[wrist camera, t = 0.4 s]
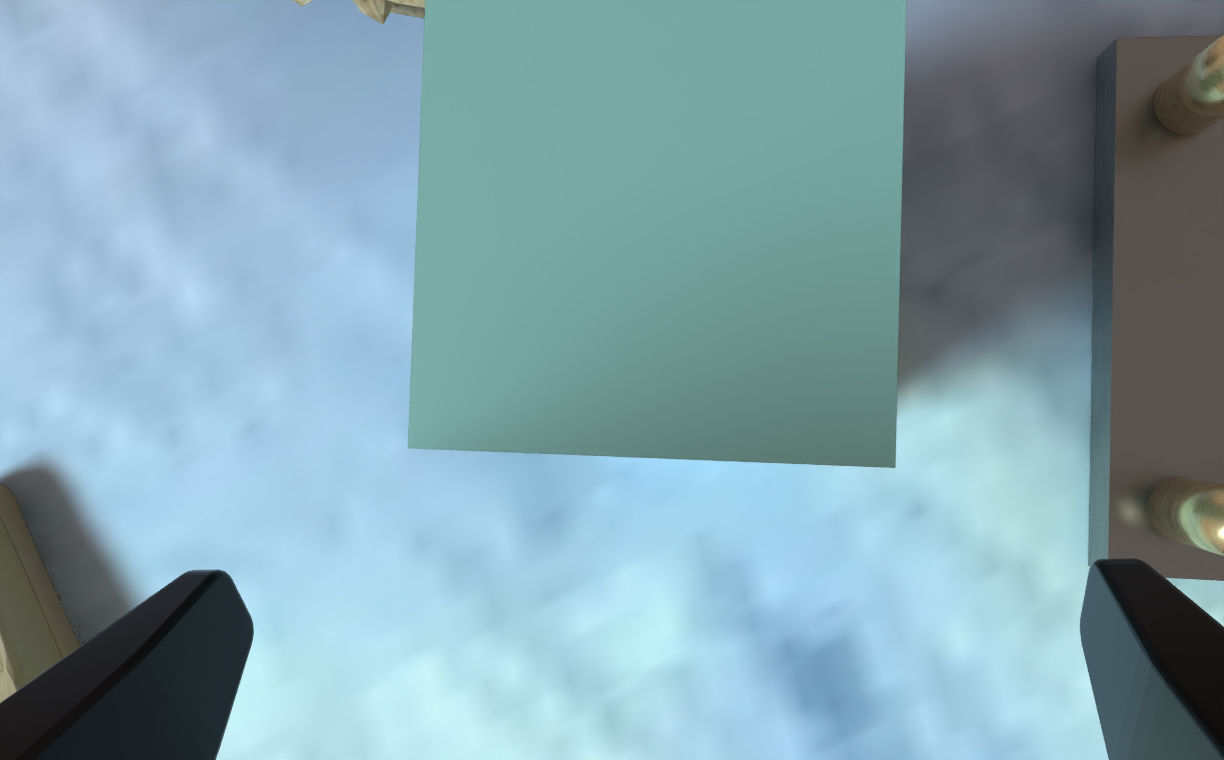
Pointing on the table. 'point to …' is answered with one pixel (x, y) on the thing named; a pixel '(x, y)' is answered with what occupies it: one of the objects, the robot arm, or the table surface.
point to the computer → (26, 606)
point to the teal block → (660, 229)
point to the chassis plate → (1159, 307)
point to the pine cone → (386, 8)
